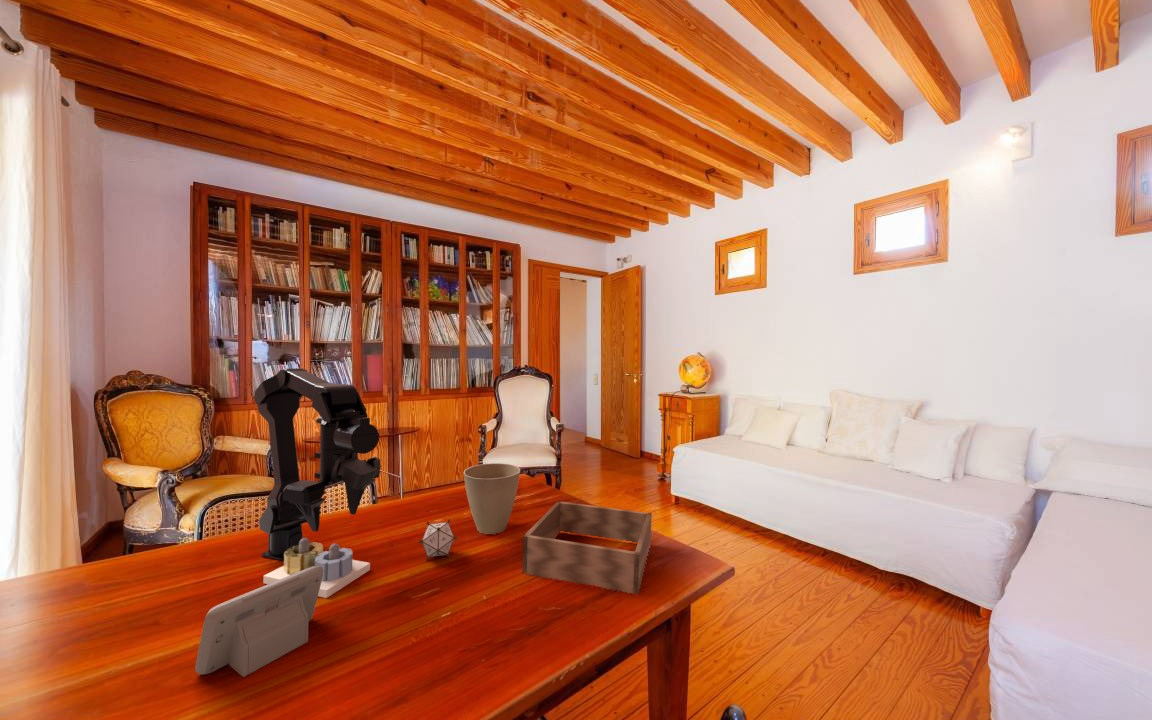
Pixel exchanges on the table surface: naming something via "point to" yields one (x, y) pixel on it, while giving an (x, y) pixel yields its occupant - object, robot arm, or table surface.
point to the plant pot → (491, 494)
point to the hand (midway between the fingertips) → (335, 522)
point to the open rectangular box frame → (589, 546)
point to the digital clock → (259, 624)
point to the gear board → (327, 586)
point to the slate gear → (335, 564)
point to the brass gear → (301, 558)
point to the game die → (438, 539)
